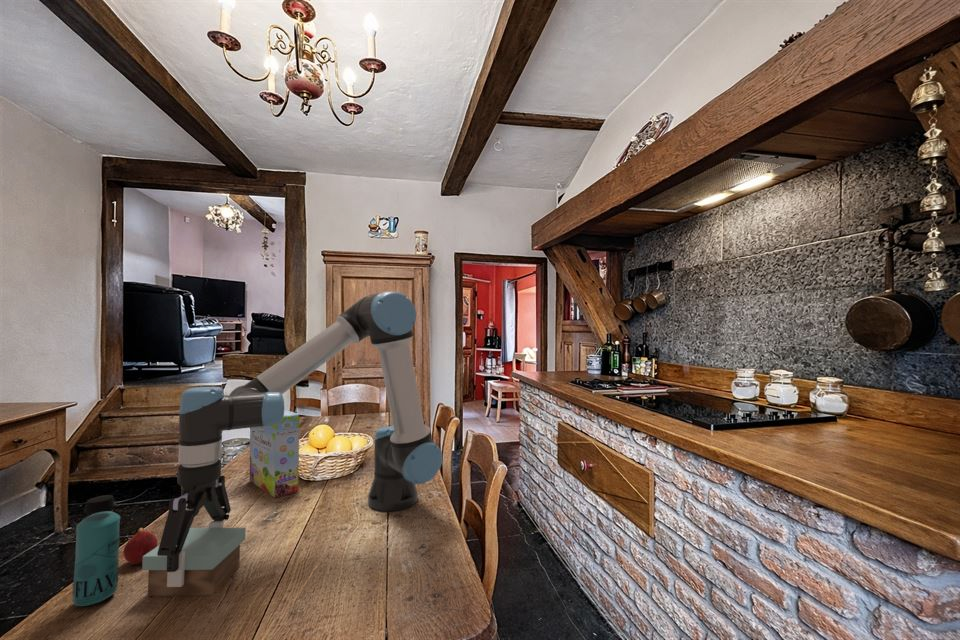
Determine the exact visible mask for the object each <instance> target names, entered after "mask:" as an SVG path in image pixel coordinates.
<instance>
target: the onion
mask: <svg viewBox="0 0 960 640" xmlns="http://www.w3.org/2000/svg"><path fill="white" fill-rule="evenodd" d="M157 546H158V539H157V537H156V536H155V534H153V532H150V531H147V530H145V529H144V528H143V527H140V528H139V529H138V531H137V532H136V534H134V535H133V536H131V537H130V539H129V540H128V541H127V542H126V544H125V545H124V548H123V556H124V559H125V560H126V561H127V562H128V563H130V564H132V565H142V560H143V556H144V555H146V554H147V553H149V552H150V551H151V550H153V549H154V548H156V547H157Z"/></svg>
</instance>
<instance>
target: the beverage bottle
mask: <svg viewBox="0 0 960 640" xmlns="http://www.w3.org/2000/svg"><path fill="white" fill-rule="evenodd" d="M114 507H115V501H114V496H113V495H111V494H106V495H99V496H96V497H92V498H89V499H87V500H86V502H85V508H84V514H91V515H88V516H86V517H84V518H83V519H82V520H81V521H80V522H79V523H77V524H76V526H75V527H76V528H75V529H76V538H75V540H76V541H75V558H74V559H75V560H74V566H73V567H72V568H73V569H74V570H73V580H72V588H71V589H72V591H71V594H72V603H73V605H75V606H76V607H85V606H91V605H94V604H97V603H100V602H103V601H104V600H107V599H108V598H110V597H111V596H113V595H114V594H115V592H116V590H117V588H118V583H119V578H120V577H119V576H120V574H119V573H120V571H119V566H120V565H119V563H120V559H119V552H120V545H121V544H120V543H121V539H120V525H121V524H120V523H121V522H120V521H121V515H120V514H118V513H116V512H114V511H112V510H111V509H112V508H114ZM108 510H110V511H108Z"/></svg>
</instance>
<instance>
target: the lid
mask: <svg viewBox="0 0 960 640" xmlns="http://www.w3.org/2000/svg"><path fill="white" fill-rule="evenodd" d="M246 533H247V532H246V527H223V528H209V527H190V530H189V532H188V535H187V538H186V540H185V543H184V545H183V548H182V550H185V566H184V570H212V569H214V568H215V567H216V566H217V565H218V564H219V563H220V562H221V561H222V560H223V559H224V558H226V557H227V556H228V555H229V554H230V553H231V552H232V551H233V550H234V549H235V548H236V547H238V546H239V545H240V546H241V544H242V543H243V542H244V541H246ZM176 547H177V546H176ZM158 549H159V545H157V547H156V548H154V549H153V550H151V551H150V552H149V553H147V554H146V555H144V556H143V560H142V564H141V565H142V567H141V571H149V570H167V556H158V555H157V553H158Z"/></svg>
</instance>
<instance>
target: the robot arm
mask: <svg viewBox="0 0 960 640" xmlns="http://www.w3.org/2000/svg"><path fill="white" fill-rule="evenodd" d="M416 321H417V311H416V307H415V304H414V303H413V302H412V300H411V299H410V298H409V297H408V296H407V295H405V294H404V293H401V292H399V291H383V292H380V293H375V294H369V295H366V296H364V297H362V298H360V299H359V300H358V301H356V302H355V303H353V304H352V305H351V306H350V307H349V308H347V309H346V310H344V311H343V312H342V313H341V314H339V315H338V316H337V317H336V318H335V322H334V323H332V324H331V325H329V326H328V327H326V328H325V329H323V330H322V331H321V332H319V333H318V334H316V335H314V336H313V337H312V338H310V339H309V340H308V341H307V342H305V343H303V344H302V345H300V346H299V347H297V348H296V349H295V350H293V351H291V353H289V354H288V355H286V356H284V357H283V358H282V359H280V360H279V361H278V362H276V363H274V364H272V365H271V366H270V367H269V368H267V369H266V370H264V371H262V372H261V373H260V374H259V375H256V377H255V378H253V379H251V380H250V381H248V382H247V383H246V384H244V385H240V386H239V385H238V386H237V387H235V388H234V389H233V390H232V391H231V392H230V393H229V394H225V393H224V390H223V388H222V387H221V386H201V387H200V386H199V387H198V386H197V387H194V388H193V387H192V388H191V387H190V388H187V389H185V390H184V391H182V393H181V395H180V404H179V411H178V412H179V417H178V458H177V460H178V461H177V462H178V464H179V466H178V467H177V480H176V481H177V484H178V485H179V486H181V487H182V492H181V495H180V496H179V497H174V498H170V500H169V503H168V514H167V516H166V520H165V525H164V526H163V527H164V528H163V531H162V535H161V538H160V542H159V545H158V546H159V549H158V553H157V555H158V556H167V587H182V586H183V585H184V566H185V550H182V548H183V545H184V543H185V540H186V538H187V535H188V532H189V530H190V528H192V524H193V522H194V519H195V517H196V516H198V514H199V512H200V510H201V509H203V507H204V509H205V510H206V512H207V513H208V515H209V516H210V518H211V521H209V523H208V528H224V521H227V520H229V519H230V513H231V510H232V509H231V504H230V501H229V497H228V492H227V488H226V476H225V475H222V460H221V458H222V455H223V453H222V452H223V450H222V449H223V447H222V446H223V441H222V440H223V432H224V431H231V430H238V429H239V430H241V429H250V428H251V427H260V426H265V427H266V426H269V425H274V424H279V423H280V422H281V421H282V420H283V417H284V410H285V399H284V395H283V394H285V393H287V391H288V390H290V389H292V388H293V387H294V386H295V385H297V384H298V383H300V382H301V381H302V380H304V379H305V378H307V376H309V375H311V374H312V373H313V372H314V371H316V370H317V369H319V368H320V367H321V366H322V365H324V364H325V363H327V362H328V361H329V360H331V359H332V358H334V357H335V356H336V355H337V354H339V353H340V352H341V351H343V350H345V349H346V348H347V347H348V346H350V345H351V344H358V343H360V342H361V341H362V340H364V339H366V338H368V337H369V339H370V344H371V346H372V347H374V348H376V349H377V351H378V356H379V361H380V365H381V370H382V376H383V381H384V386H385V392H386V396H387V402H388V406H389V407H388V408H389V411H390V416H391V421H392V425H390V426H383V427H380V428H378V429H376V431H375V434H374V435H375V436H374V439H373V441H374V465H373V466H374V467H373V468H374V469H373V470H374V473H373V474H374V476H373V477H374V478H373V479H372V482H371V486H370V489H369V491H368V495H367V505H368V506H369V508H372V509H374V510H376V511H382V512H395V511H402V510H406V509H407V508H411V507H412V506H414V505H415V504H416V503H417V502H418V490H417V485H423V484H425V483H426V484H427V483H428V482H430V481H432V479H434V477H436V476H437V475H438V472H439V470H440V469H441V467H442V465H443V464H442V463H443V452H442V449H441V448H440V446H438V445H437V444H436V443H435V442H433V441H434V440H433V435H432V429H431V427H429V426H428V425H426V424H425V422H424V415H423V412H422V406H421V401H420V395H419V390H418V383H417V379H416V374H415V368H414V363H413V357H412V351H411V347H410V343H411V341H412V340H413V338H414V334H413V327H414V325H415V323H416ZM176 546H177V547H176Z"/></svg>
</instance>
